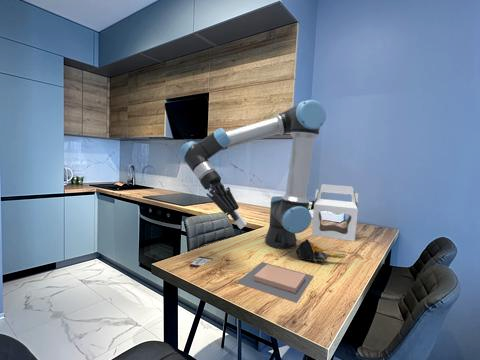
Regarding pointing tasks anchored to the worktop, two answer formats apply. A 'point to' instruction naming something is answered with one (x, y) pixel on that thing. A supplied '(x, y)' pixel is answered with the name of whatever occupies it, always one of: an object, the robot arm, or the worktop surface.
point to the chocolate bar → (200, 261)
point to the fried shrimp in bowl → (314, 252)
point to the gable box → (335, 207)
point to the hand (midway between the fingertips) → (243, 226)
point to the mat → (249, 282)
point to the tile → (280, 278)
